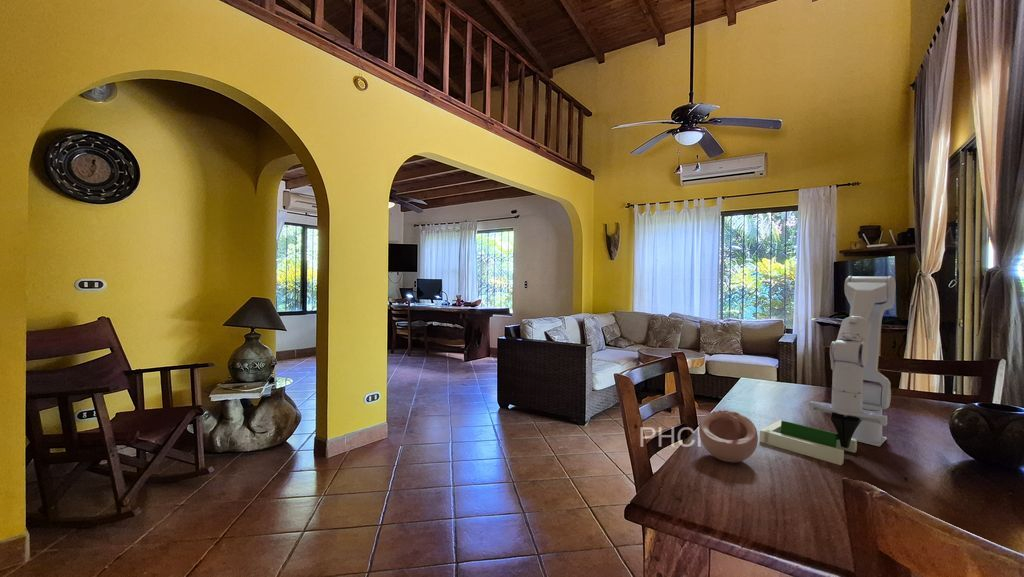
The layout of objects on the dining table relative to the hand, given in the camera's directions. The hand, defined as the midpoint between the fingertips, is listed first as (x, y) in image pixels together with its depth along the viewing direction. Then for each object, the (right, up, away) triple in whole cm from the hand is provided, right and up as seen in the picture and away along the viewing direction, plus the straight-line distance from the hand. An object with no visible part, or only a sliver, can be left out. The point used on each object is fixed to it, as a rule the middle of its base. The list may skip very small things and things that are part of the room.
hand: (844, 446), depth 99 cm
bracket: (-5, -2, +6) cm, 7 cm away
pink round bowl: (-30, -2, -4) cm, 31 cm away
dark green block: (-5, -2, +5) cm, 7 cm away
